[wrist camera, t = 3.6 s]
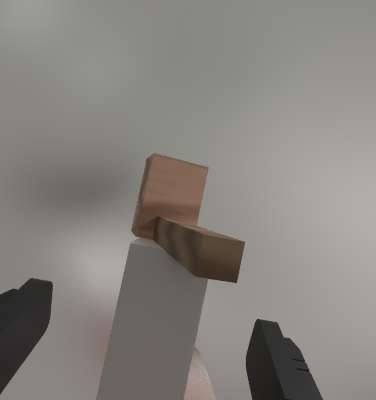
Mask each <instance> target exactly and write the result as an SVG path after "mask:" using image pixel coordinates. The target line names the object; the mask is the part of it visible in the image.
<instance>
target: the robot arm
mask: <svg viewBox="0 0 376 400" xmlns="http://www.w3.org/2000/svg"><path fill="white" fill-rule="evenodd" d="M52 290H53V284H52V282H51V281H45V280H39V279H34V278H31V279H29V280H28V281H27V282H26V283H25V284H24V285H23V286H22V287H20V289H19V290H16V289H11V290H9V291H7V292H5V293H3V294H0V394H1V392H2V391H3V390H4V388H5V387H6V386H7V384H8V383H9V381H10V380H11V378H12V377H13V376H14V375H15V373H16V372H17V370H18V369H19V367H20V366H21V365H22V363H23V362H24V361H25V359H26V358H27V357H28V355H29V354H30V352H31V351H32V350H33V348H34V347H35V345H36V344H37V343H38V341H39V340H40V339H41V337H42V336H43V334H44V333H45V331H46V329H47V327H48V324H49V320H50V314H51V301H52ZM246 371H247V376H248V381H249V385H250V390H251V395H252V400H323V399H322V397H321V395H320V392H319V390H318V388H317V386H316V384H315V381H314V379H313V377H312V375H311V373H309V368H308V366H307V364H306V363H305V360H304V358H303V355H302V353H301V351H300V349H299V348H298V347H297V346H296V345H295V344H294V343H293V342H292V340H291V339H290V338H284V337H283V335H282V332H281V330H280V327H279V325H278V323H277V322H272V321H266V320H260V319H257V320H256V322H255V325H254V328H253V332H252V336H251V339H250V343H249V347H248V350H247V355H246Z"/></svg>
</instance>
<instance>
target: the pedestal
mask: <svg viewBox="0 0 376 400" xmlns="http://www.w3.org/2000/svg"><path fill="white" fill-rule="evenodd" d="M207 282H208V279H207V278H200V277H195V276H194V275H193V274H191V273H190V272H189V271H188V270H187V269H186V268H185V267H183V266H182V265H181V264H180V263H179V262H178V261H177V260H175V259H174V258H173V257H172V256H171V255H170V254H169V253H167V252H166V251H165V250H164V249H163V248H162V247H161V246H159V245H158V244H157V243H156V242H155V241H154V240H153V239H147V238H142V237H140V238H138V239H136V240H135V241H133V242H131V243H130V247H129V252H128V256H127V261H126V265H125V270H124V275H123V279H122V284H121V289H120V293H119V297H118V302H117V307H116V311H115V316H114V320H113V325H112V330H111V334H110V339H109V343H108V348H107V353H106V357H105V362H104V366H103V371H102V375H101V380H100V385H99V390H98V394H97V398H96V400H183V398H184V394H185V389H186V384H187V379H188V374H189V369H190V364H191V360H192V355H193V350H194V345H195V340H196V335H197V331H198V326H199V321H200V315H201V311H202V306H203V301H204V296H205V292H206V287H207Z"/></svg>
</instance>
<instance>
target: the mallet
mask: <svg viewBox="0 0 376 400" xmlns="http://www.w3.org/2000/svg"><path fill="white" fill-rule="evenodd" d="M207 172H208V167H205V166H201V165H197V164H193V163H189V162H186V161H182V160H178V159H174V158H170V157H167V156H162V155H158V154H155V153H154V154H152V155H151V156H150V157H149V158H147V160H146V165H145V169H144V174H143V178H142V183H141V188H140V192H139V197H138V201H137V206H136V211H135V215H134V220H133V225H132V229H131V231H132V232H133V234H134V235H135V236H137V237H142V238H147V239H153V240H154V241H155V242H156V243H157V244H158V245H159V246H161V247H162V248H163V249H164V250H165V251H166V252H167V253H169V254H170V255H171V256H172V257H173V258H174V259H175V260H177V261H178V262H179V263H180V264H181V265H182V266H183V267H185V268H186V269H187V270H188V271H189V272H190V273H191V274H193V275H194V276H195V277H200V278H207V279H214V280H220V281H227V282H233V283H237V279H238V274H239V269H240V264H241V259H242V255H243V250H244V245H245V242H243V241H240V240H237V239H234V238H231V237H228V236H225V235H222V234H219V233H216V232H213V231H209V230H207V229H204V228H200V227H198V226H196V225H197V220H198V216H199V211H200V206H201V201H202V197H203V192H204V187H205V182H206V177H207Z"/></svg>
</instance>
